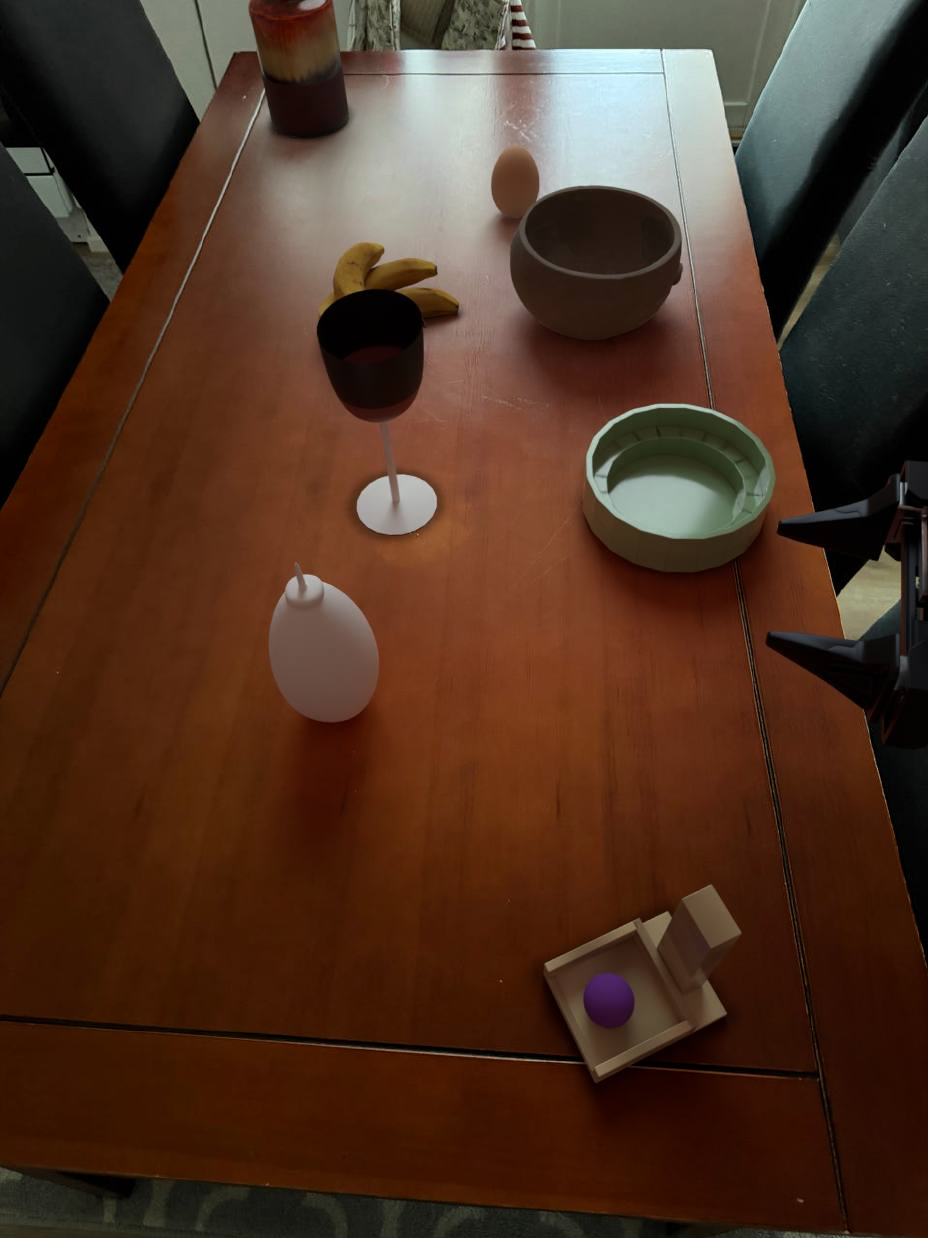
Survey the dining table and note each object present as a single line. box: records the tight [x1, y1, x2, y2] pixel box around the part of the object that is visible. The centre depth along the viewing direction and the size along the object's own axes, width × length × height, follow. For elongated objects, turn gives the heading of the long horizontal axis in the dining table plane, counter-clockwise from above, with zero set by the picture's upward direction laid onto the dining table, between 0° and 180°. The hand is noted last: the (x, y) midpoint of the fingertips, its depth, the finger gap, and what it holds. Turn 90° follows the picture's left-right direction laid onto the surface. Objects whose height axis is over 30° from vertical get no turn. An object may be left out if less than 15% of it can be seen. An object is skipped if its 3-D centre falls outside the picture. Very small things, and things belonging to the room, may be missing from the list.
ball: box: [583, 973, 635, 1028], centre depth 57 cm, size 3×3×3 cm
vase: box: [247, 0, 350, 139], centre depth 117 cm, size 11×11×20 cm
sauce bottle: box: [268, 562, 380, 723], centre depth 65 cm, size 8×8×18 cm
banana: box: [318, 241, 460, 329], centre depth 97 cm, size 15×19×6 cm
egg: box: [490, 145, 541, 219], centre depth 107 cm, size 6×6×8 cm
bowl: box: [509, 184, 684, 341], centre depth 95 cm, size 17×18×10 cm
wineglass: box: [316, 289, 438, 536], centre depth 76 cm, size 8×9×20 cm
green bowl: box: [581, 403, 777, 573], centre depth 81 cm, size 16×16×5 cm
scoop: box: [542, 884, 743, 1084], centre depth 54 cm, size 10×7×13 cm
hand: (771, 580), depth 58 cm, fingers open, 9 cm apart
